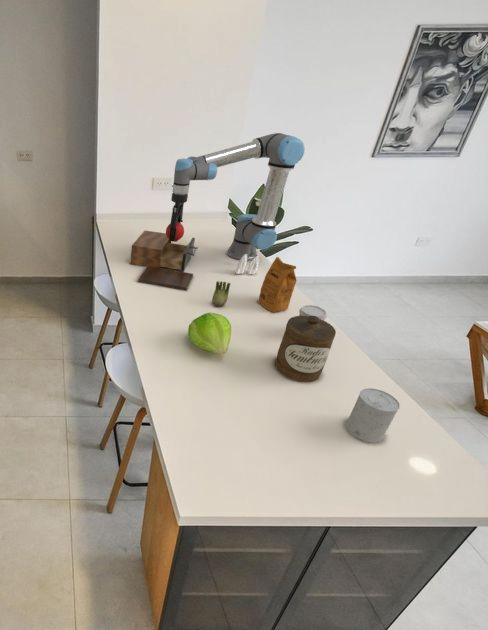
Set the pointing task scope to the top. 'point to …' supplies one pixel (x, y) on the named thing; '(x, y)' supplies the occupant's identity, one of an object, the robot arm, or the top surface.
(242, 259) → the shaker set
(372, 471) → the top surface
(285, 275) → the coffee package
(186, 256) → the drawer
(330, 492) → the top surface
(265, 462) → the top surface
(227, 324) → the lettuce
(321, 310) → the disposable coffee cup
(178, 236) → the apple
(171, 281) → the board
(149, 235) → the cabinet
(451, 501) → the top surface
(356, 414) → the grey metal can
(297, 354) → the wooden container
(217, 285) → the fennel bulb
